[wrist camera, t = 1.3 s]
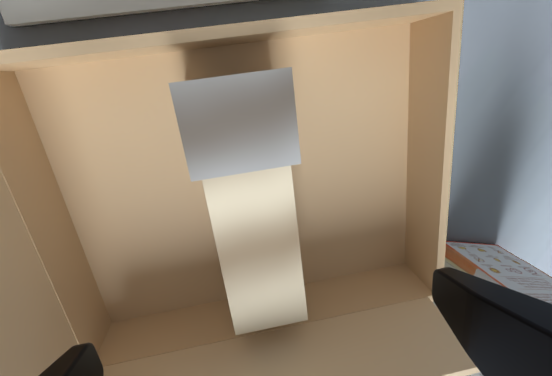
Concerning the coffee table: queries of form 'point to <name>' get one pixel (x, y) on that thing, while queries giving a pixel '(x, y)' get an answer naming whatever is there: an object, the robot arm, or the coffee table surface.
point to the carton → (193, 206)
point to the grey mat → (88, 9)
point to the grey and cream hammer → (248, 188)
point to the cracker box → (498, 269)
